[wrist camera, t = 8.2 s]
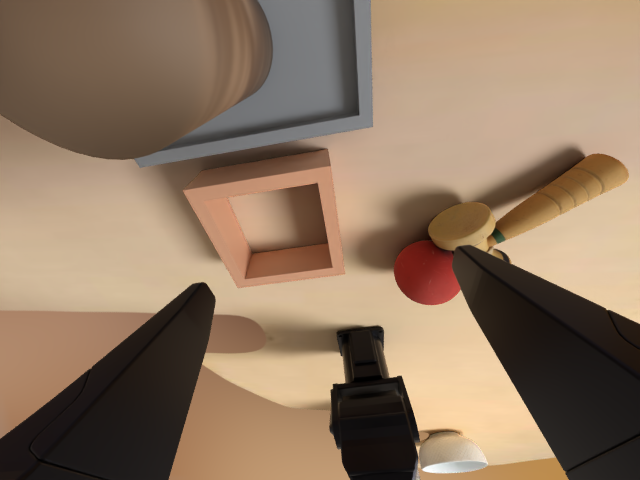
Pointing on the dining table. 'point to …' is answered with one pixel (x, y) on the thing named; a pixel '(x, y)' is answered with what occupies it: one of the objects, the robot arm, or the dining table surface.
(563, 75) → the dining table surface
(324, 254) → the pink rectangular frame
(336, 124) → the grey tray
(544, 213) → the kendama
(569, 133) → the dining table surface
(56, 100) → the walnut peg
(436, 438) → the cereal bowl
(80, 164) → the dining table surface
